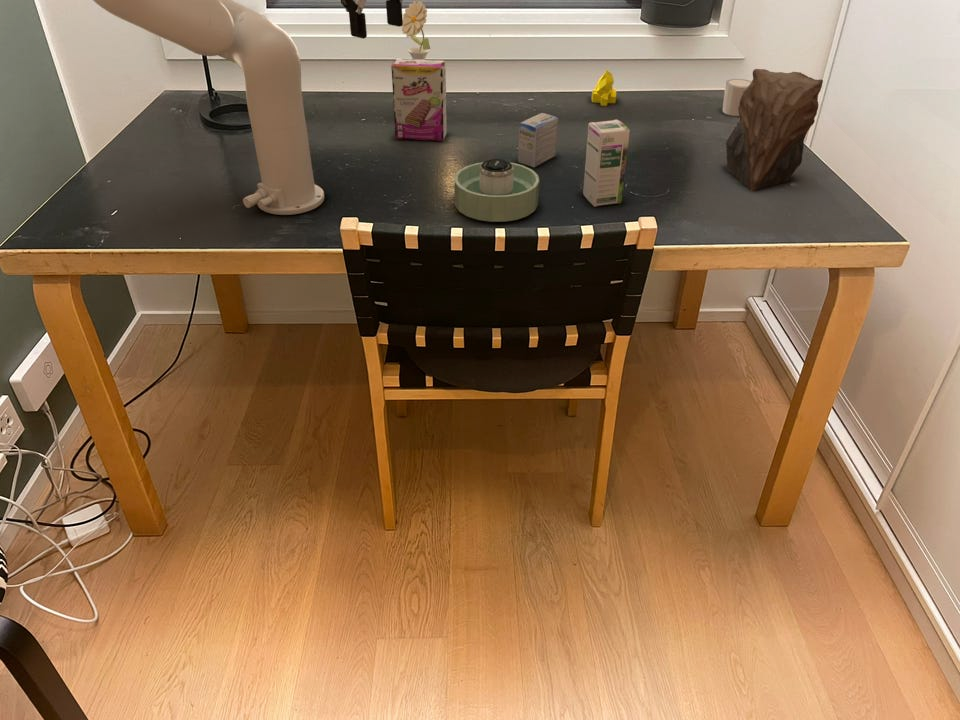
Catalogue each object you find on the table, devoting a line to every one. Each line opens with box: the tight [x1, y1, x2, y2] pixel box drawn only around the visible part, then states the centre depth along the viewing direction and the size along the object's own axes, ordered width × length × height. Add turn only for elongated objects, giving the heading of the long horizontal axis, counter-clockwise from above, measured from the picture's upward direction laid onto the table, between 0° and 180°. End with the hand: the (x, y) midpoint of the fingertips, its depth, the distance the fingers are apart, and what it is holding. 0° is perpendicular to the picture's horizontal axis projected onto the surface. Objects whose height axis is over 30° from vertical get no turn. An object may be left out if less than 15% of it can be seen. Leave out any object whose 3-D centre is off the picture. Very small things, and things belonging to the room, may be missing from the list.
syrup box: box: [582, 119, 631, 208], centre depth 139 cm, size 6×6×14 cm
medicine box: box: [517, 112, 559, 168], centre depth 156 cm, size 8×4×9 cm, turn 141°
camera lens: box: [479, 158, 514, 195], centre depth 139 cm, size 6×6×8 cm
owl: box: [725, 68, 824, 192], centre depth 147 cm, size 13×13×20 cm
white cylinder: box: [722, 78, 752, 117], centre depth 180 cm, size 7×7×7 cm
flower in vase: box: [401, 0, 431, 60], centre depth 175 cm, size 13×11×25 cm
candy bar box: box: [390, 58, 448, 142], centre depth 164 cm, size 11×5×16 cm, turn 84°
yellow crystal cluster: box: [591, 69, 617, 107], centre depth 186 cm, size 6×8×8 cm
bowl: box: [453, 161, 540, 223], centre depth 140 cm, size 16×16×6 cm
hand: (377, 30), depth 133 cm, fingers open, 9 cm apart
